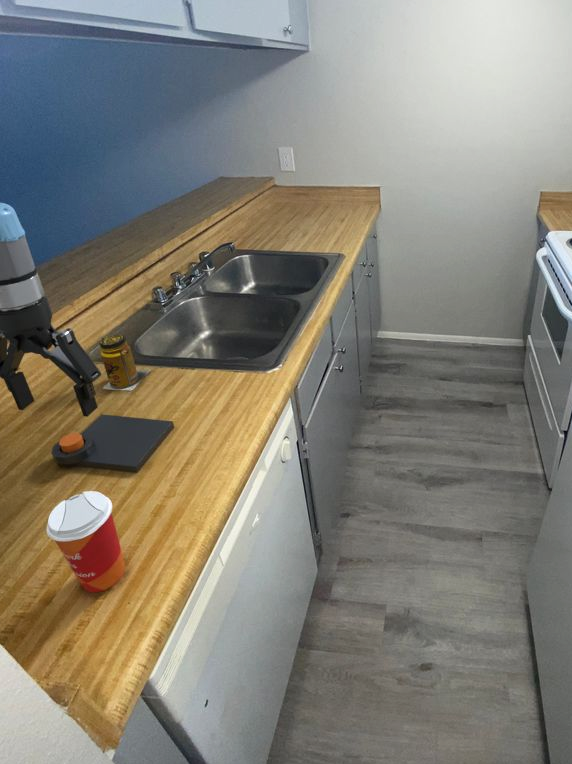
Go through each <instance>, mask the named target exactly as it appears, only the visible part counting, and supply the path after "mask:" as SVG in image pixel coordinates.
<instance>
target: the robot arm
mask: <svg viewBox="0 0 572 764" xmlns="http://www.w3.org/2000/svg"><path fill="white" fill-rule="evenodd" d="M52 319H53V312H52V309H51V307H50V303H49V301H48V298H47V297H46V296H45V290H44V286H43V284H42V282H41V279H40V275H39V273H38V270H37V267H36V265H35V262H34V259H33V256H32V253H31V250H30V247H29V244H28V240H27V238H26V231H25V229H24V228H23V226H22V224H21V222H20V219H19V217H18V215H17V212H16V210H15V209H14V207H13V206H11V205H10V204H7V203H5V202H0V379H1V380H3V382H4V383H5V386H6V388H7V390H8V392H10V393H11V395H12V397H13V399H14V402H15V404H16V406H17V409H18V410H19V411H24V410H25V409H26V408H28V407H29V406H30V405H31V404H33V403H34V402H35V398H34V396H33V393H32V391H31V388H30V386H29V383H28V381H27V379H26V376H25V374H24V372H23V371H19V370H20V369H21V367H20V365H21V363H22V360H23V359H24V356H25V354H30V353H32V354H36V355H40V356H41V357H42V358H43V359H46V360H50V361H51V362H52V363H53V364H54V365H55V366H56V367H57V368H59V370H61V372H63V373H64V374H65V375H66V376H67V377H68V378H69V379H70V380H72V381H73V382H74V383H75V384H74V385H73V386H72V388H73V391H74V393H75V396H76V399H77V402H78V404H79V407H80V410H81V413H82V416H83V417H87V418H88V417H89V416H90V415H91V414H92V413H93V412H95V410H97V409H98V408H99V406H98V404H97V400H96V397H95V396H96V393H97V392H96V389H95V385H94V383H95V381H97V380H98V379H99V378H100V377H102V372H101V371H100V369H99V368H98V366H97V365H96V364H95V362H93V360H92V359H91V358H90V356H89V355H88V353H87V352H86V351H85V349H84V348H83V347H82V345H81V344H80V343H79V341H78V340H77V338H76V336H75V331H74V330H73V329H72V328H69V327H68V328H66V329H64V330H57V329H56V328H55V327H54V326H53V325H52ZM8 343H9V344H8ZM52 347H54V348H53V349H51V348H52ZM50 349H51V350H50Z"/></svg>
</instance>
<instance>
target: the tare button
mask: <svg viewBox="0 0 572 764" xmlns="http://www.w3.org/2000/svg"><path fill="white" fill-rule="evenodd" d="M79 433H80V432H73V433H68V434H67V435H65V436H63V437H62V438H61V439H59V441H60V442H59V441H58V442H59V444H60V447H61V449H62V451H63V452H64V453H70V452H74V451H76V450H78V449H80V448H81V447H82V446H83V445H84V441H83V438H82V435H81V434H79Z"/></svg>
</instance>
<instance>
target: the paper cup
mask: <svg viewBox="0 0 572 764" xmlns="http://www.w3.org/2000/svg"><path fill="white" fill-rule="evenodd" d="M112 511H113V503H112V501H111V499H110V498H109V497H107V496H106V495H104V494H103V493H101V492H99V491H95V490H89V491H83V492H82V493H80V494H79V493H78V494H75V495H73V496H70V497H69V498H68V499H66V500H65V499H64V500H62V501H61V502H59V503H58V504H57V505H56V506H55V507H54V508H53V509H52V511H51V512H50V514H49V516H48V519H47V524H46V534H47V536H48V537H49V538H50V539H51V540H53V541H54V542H55V544H56V545H57V547H58V548H59V550H60V552H61V553H62V555H63V557H64V559H65V560H66V562H67V564H68V565H69V567H70V569H71V570H72V572H73V574H74V575H75V577H76V579H77V580H78V582H79V584H80V585H81V587H82V588H83V589H84V590H85V591H87V592H89V593H93V594H94V593H100V592H104V591H106V590H108V589H110V588H111V587H114V586H115V584H117V583H118V582H119V581H120V580H121V578H122V577H123V575H124V573H125V569H126V568H125V567H126V566H125V559H124V556H123V552H122V547H121V544H120V539H119V536H118V532H117V528H116V524H115V521H114V516H113V512H112Z"/></svg>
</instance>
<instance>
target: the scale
mask: <svg viewBox="0 0 572 764" xmlns="http://www.w3.org/2000/svg"><path fill="white" fill-rule="evenodd" d="M173 421H174V420H162V419H155V418H154V419H153V418H142V417H134V416H133V417H131V416H122V415H113V414H112V415H111V414H102V413H101V414H100V415H99V416H98V417H97V418H96V419H95V420H93V422H92V423H90V424H89V425H88V426H87V427H86V428H85V429H84V431H82V432H78V433H79V434H81V435H82V438H83V441H84V445H83V446H82V447H81V448H80V449H78V450H76V451H74V452H70V453H64V452H63V451H62V449H61V447H60V444H59V442H60V440H59V441H57V443H55V444H54V445H53V446H52V450H51V455H52V457H53V460H54V461H55V462H56V463H57V465H59V466H68V467H78V468H86V469H96V470H103V471H104V470H105V471H106V470H107V471H115V472H124V473H132V474H138V473H139V472H140V471H141V470H142V469H143V467H144V466H145V465H146V464H147V463H148V461H149V460H150V458H151V457H152V456H153V455H154V454H155V452H156V451H157V450H158V448H159V447H160V446H161V445H162V443H163V442H164V441H165V440H166V438H167V437H168V436H169V435H170V433H171V432H172V431H173V430H174V428H175V424H174V422H173Z"/></svg>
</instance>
